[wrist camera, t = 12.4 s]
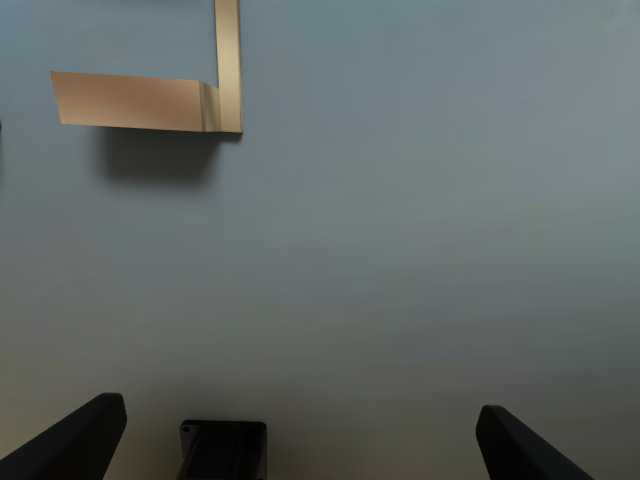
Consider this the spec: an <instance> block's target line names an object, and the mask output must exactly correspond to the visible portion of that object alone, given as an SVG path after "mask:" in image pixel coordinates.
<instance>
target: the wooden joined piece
mask: <svg viewBox="0 0 640 480" xmlns="http://www.w3.org/2000/svg"><path fill="white" fill-rule="evenodd" d="M215 11H216V31H217V52H218V72H219V89H218V88H215V87H213V86H211V85H208V84H206V83H203V82H201V81H197V80H181V79H165V78H149V77H134V76H118V75H102V74H86V73H71V72H55V71H50V73H51V77H52V82H53V87H54V91H55V96H56V101H57V106H58V110H59V115H60V120H61V124H78V125H96V126H113V127H130V128H147V129H164V130H181V131H198V132H212V131H225V132H243V108H242V71H241V34H240V0H215Z"/></svg>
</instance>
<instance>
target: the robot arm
mask: <svg viewBox="0 0 640 480" xmlns="http://www.w3.org/2000/svg"><path fill="white" fill-rule="evenodd" d="M126 424H127V414H126V409H125V405H124V400H123V396H122V395H121V394H120V393H102V394H100V395H98V396H97V397H95V398H94V399H92V400H91V401H89V402H88V403H86V404H85V405H83V406H82V407H80V408H79V409H77V410H75V411H74V412H72V413H71V414H69V415H68V416H66V417H65V418H63V419H62V420H60V421H59V422H57V423H56V424H54V425H53V426H51V427H50V428H48V429H47V430H45V431H44V432H42V433H41V434H39V435H38V436H36V437H35V438H33V439H32V440H30V441H29V442H27V443H26V444H24V445H23V446H21V447H20V448H18V449H17V450H15V451H14V452H12V453H10V454H9V455H7V456H6V457H4V458H3V459H1V460H0V480H102V479H103V477H104V475H105V473H106V470H107V468H108V466H109V464H110V461H111V459H112V457H113V455H114V452H115V450H116V448H117V446H118V443H119V441H120V439H121V437H122V434H123V432H124V430H125V427H126ZM180 435H181V443H182V450H183V458H184V461H183V464H182V466H181V469H180V471H179V474H178V476H177V479H176V480H266V478H267V426H266V424H264V423H262V422H237V421H202V420H185V421H183V422H182V424H181V427H180ZM476 438H477V441H478V444H479V447H480V450H481V453H482V456H483V459H484V462H485V465H486V468H487V471H488V474H489V477H490V480H595V479H593V478H592V477H591V476H590V475H588V474H587V473H586V472H585V471H583V470H582V469H581V468H579V467H578V466H577V465H576V464H574V463H573V462H572V461H571V460H569V459H568V458H567V457H566V456H564V455H563V454H562V453H560V452H559V451H558V450H557V449H555V448H554V447H553V446H552V445H550V444H549V443H548V442H547V441H545V440H544V439H543V438H542V437H540V436H539V435H538V434H536V433H535V432H534V431H533V430H531V429H530V428H529V427H528V426H526V425H525V424H524V423H523V422H521V421H520V420H519V419H517V418H516V417H515V416H514V415H512V414H511V413H510V412H509V411H507V410H506V409H505V408H503V407H502V406H499V405H484V406H483V407H482V409H481V412H480V416H479V419H478V422H477V425H476Z"/></svg>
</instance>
